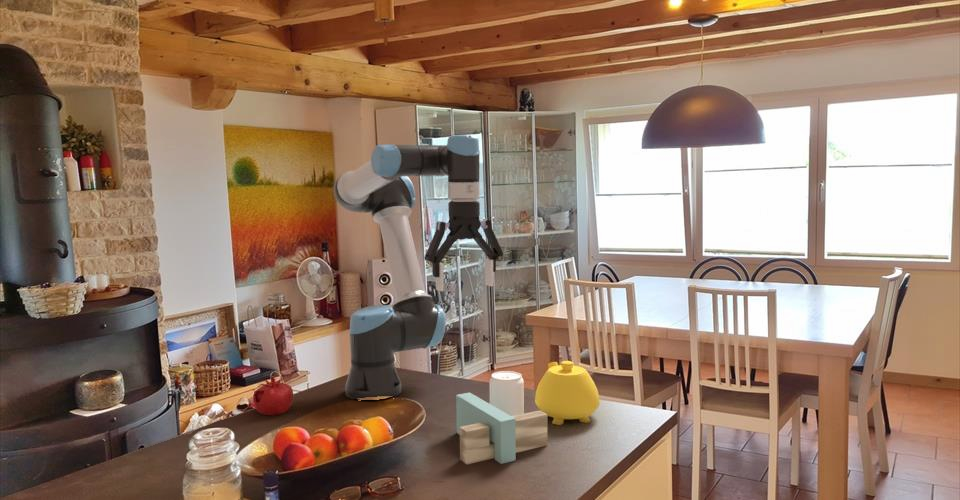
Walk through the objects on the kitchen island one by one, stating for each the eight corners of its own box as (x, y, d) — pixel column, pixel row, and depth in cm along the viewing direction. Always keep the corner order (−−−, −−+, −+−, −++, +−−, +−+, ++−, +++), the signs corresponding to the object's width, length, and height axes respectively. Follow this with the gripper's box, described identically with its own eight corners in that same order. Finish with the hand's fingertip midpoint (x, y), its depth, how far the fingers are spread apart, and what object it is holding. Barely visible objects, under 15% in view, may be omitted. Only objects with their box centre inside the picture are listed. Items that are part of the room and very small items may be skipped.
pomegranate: (296, 404, 181) (296, 369, 181) (290, 417, 172) (290, 380, 171) (257, 405, 180) (256, 370, 179) (249, 418, 170) (248, 381, 170)
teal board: (456, 432, 160) (456, 394, 159) (470, 429, 162) (469, 392, 161) (501, 463, 143) (500, 421, 142) (515, 460, 144) (515, 418, 143)
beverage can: (521, 431, 160) (521, 381, 159) (486, 429, 162) (486, 379, 161) (526, 419, 168) (525, 371, 167) (493, 417, 170) (492, 369, 168)
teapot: (523, 403, 180) (523, 351, 179) (580, 398, 183) (581, 347, 182) (545, 430, 161) (545, 373, 159) (609, 425, 164) (609, 368, 162)
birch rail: (460, 459, 145) (459, 427, 144) (539, 440, 155) (539, 410, 154) (466, 464, 142) (466, 431, 142) (547, 445, 152) (547, 414, 151)
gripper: (422, 202, 157) (424, 294, 159) (516, 199, 169) (516, 285, 171) (409, 201, 164) (411, 290, 166) (500, 198, 176) (501, 281, 178)
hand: (465, 288), depth 169 cm, fingers open, 13 cm apart
